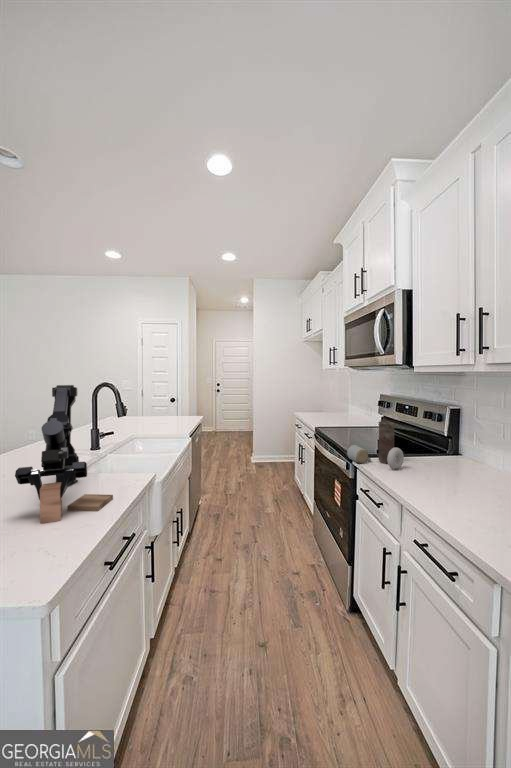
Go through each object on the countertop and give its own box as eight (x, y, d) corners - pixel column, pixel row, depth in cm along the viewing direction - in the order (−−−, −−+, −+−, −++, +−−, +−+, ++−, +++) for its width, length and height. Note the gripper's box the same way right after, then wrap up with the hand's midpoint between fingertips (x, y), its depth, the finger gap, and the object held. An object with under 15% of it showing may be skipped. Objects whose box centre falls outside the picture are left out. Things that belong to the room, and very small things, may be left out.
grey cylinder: (356, 464, 158) (357, 448, 158) (346, 460, 166) (347, 445, 166) (374, 463, 162) (375, 447, 162) (364, 458, 170) (364, 444, 169)
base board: (84, 498, 115) (84, 494, 115) (112, 499, 115) (112, 494, 114) (67, 510, 105) (67, 505, 105) (97, 511, 105) (97, 506, 104)
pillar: (43, 516, 100) (42, 484, 100) (62, 513, 102) (61, 481, 102) (40, 523, 96) (39, 489, 95) (60, 520, 98) (59, 487, 97)
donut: (398, 466, 156) (398, 445, 155) (405, 468, 153) (405, 446, 152) (385, 469, 150) (385, 448, 150) (392, 471, 147) (392, 449, 147)
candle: (375, 460, 167) (376, 420, 166) (389, 459, 167) (390, 420, 167) (382, 464, 159) (383, 423, 158) (397, 464, 160) (397, 422, 159)
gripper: (15, 441, 98) (6, 490, 88) (86, 436, 106) (84, 481, 96) (22, 460, 105) (14, 508, 96) (88, 455, 113) (86, 498, 103)
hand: (50, 498), depth 98 cm, fingers closed on pillar, 5 cm apart
